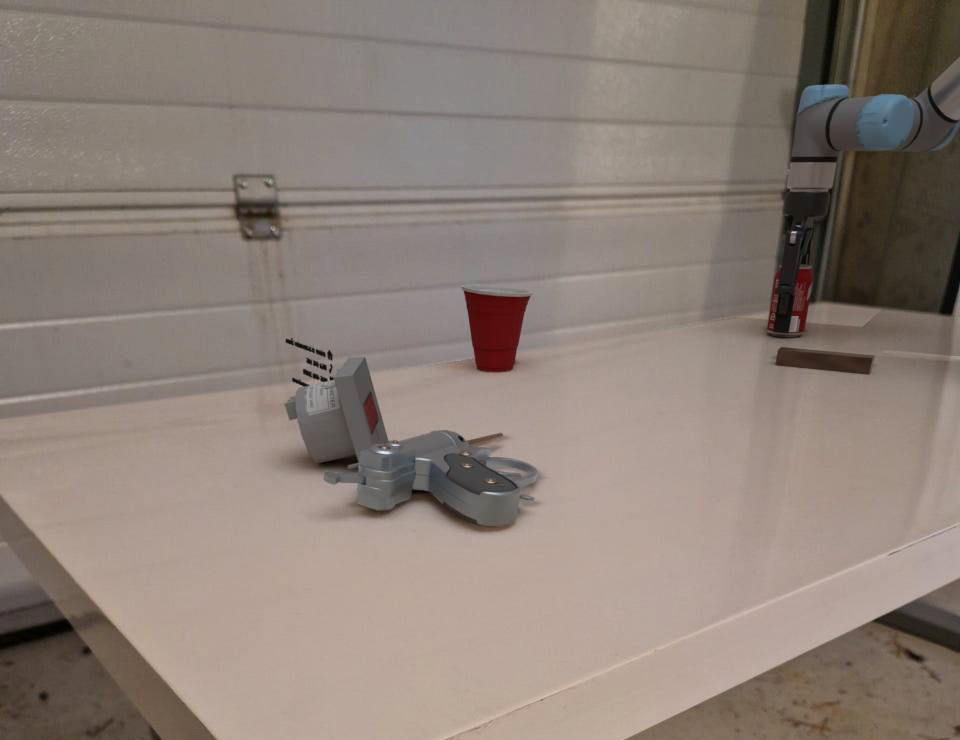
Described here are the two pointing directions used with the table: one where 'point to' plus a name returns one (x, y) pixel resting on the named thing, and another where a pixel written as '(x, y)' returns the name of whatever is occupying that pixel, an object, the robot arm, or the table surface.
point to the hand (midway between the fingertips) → (785, 329)
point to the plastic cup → (495, 323)
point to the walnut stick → (825, 360)
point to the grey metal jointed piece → (441, 476)
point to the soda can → (799, 306)
